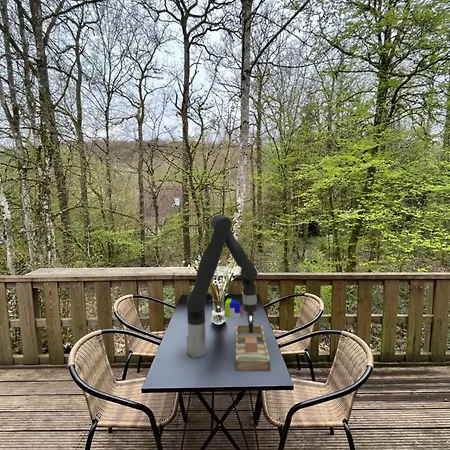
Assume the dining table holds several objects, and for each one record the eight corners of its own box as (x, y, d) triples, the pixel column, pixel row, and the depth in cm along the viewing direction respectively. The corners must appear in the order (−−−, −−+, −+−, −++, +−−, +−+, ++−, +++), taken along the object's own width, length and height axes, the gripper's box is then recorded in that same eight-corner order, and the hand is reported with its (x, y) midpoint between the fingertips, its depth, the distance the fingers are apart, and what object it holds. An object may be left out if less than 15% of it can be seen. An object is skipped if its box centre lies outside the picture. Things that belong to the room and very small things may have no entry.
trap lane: (269, 370, 139) (269, 361, 139) (236, 370, 140) (235, 361, 139) (262, 332, 179) (262, 325, 178) (235, 332, 179) (235, 325, 179)
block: (257, 352, 152) (257, 342, 151) (245, 352, 152) (245, 342, 152) (256, 346, 158) (256, 337, 157) (245, 346, 158) (245, 337, 158)
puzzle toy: (239, 318, 202) (239, 303, 201) (225, 317, 204) (224, 303, 203) (241, 312, 211) (241, 298, 210) (227, 311, 213) (227, 298, 212)
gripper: (257, 306, 155) (258, 337, 157) (256, 297, 168) (256, 326, 170) (243, 306, 155) (244, 337, 157) (242, 297, 169) (243, 327, 170)
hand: (250, 332), depth 163 cm, fingers closed
